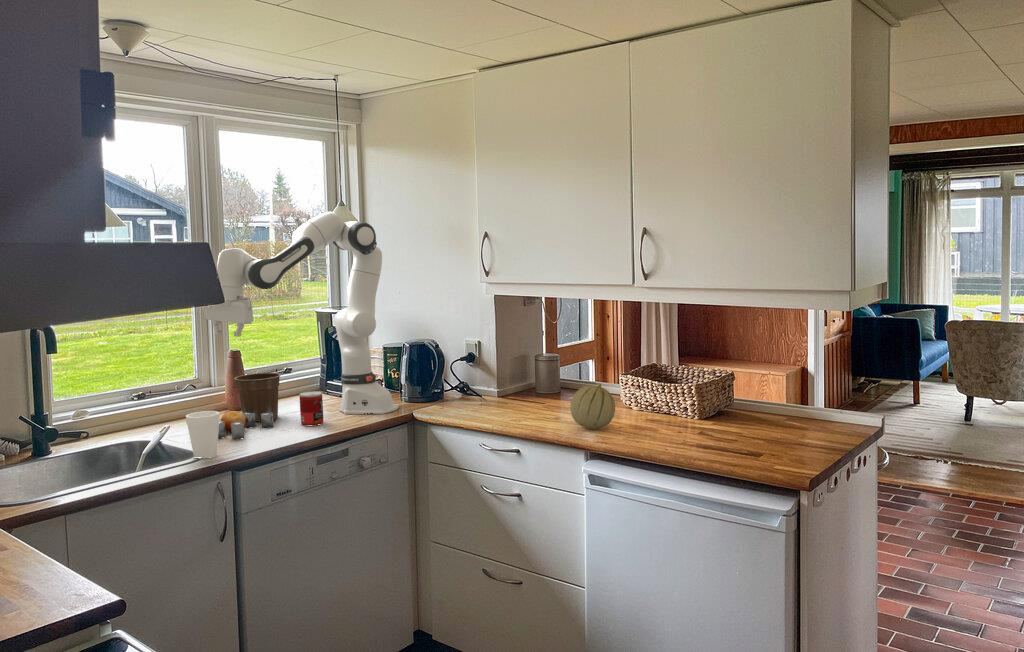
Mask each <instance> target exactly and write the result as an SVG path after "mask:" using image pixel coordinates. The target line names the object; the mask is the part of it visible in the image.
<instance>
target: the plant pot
mask: <svg viewBox="0 0 1024 652" xmlns="http://www.w3.org/2000/svg"><path fill="white" fill-rule="evenodd" d="M281 376H282V375H281V373H279V372H277V373H276V372H260V373H259V372H258V373H249V374H242V375H239V376H236V377H234V379H233V380H234V381H235V384H236V389H237V390H238V395H239V402H240V407H241V413H242V415H243V413H244V412H255V421H256V422H260V423H261V413H264V412H273V420H275V419H278V417H279V386H280V377H281Z"/></svg>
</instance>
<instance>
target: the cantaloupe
mask: <svg viewBox="0 0 1024 652" xmlns="http://www.w3.org/2000/svg"><path fill="white" fill-rule="evenodd" d="M615 401H616V400H614V396H613V395H612V394H611V392H609V390H608V389H606V388H604V387H602V384H601V383H600V382H599V384H598V385H593V384H588V385H585V386H582V387H580V388H579V389H578V390H577V391H576V392H575V393H574V395H573V396H572V398H571V401H570V407H569V408H570V409H569V410H570V414H571V417H572V419H573V420H574V422H575V423H577V425H579V426H580V427H583V428H585V429H586V428H588V429H587V430H592V429H595V430H600V429H603V428H605V427H607V426H608V425H609V424H611V423H612V420H613V419H614V417H615V412H616V402H615Z"/></svg>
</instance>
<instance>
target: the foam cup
mask: <svg viewBox="0 0 1024 652" xmlns="http://www.w3.org/2000/svg"><path fill="white" fill-rule="evenodd" d="M219 421H221V416H220V412H219V411H215V410H203V411H196V412H195V411H194V412H191V413H188V414H186V415H185V423H186V426H187V430H188V435H189V440H190V444H191V448H192V453H193V456H194V457H202V458H209V457H213V456H215V457H217V456H216V455H218V454H217V453H218V446H219V445H218V444H219V438H218V431H219ZM213 458H214V457H213ZM209 459H210V458H209Z"/></svg>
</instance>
